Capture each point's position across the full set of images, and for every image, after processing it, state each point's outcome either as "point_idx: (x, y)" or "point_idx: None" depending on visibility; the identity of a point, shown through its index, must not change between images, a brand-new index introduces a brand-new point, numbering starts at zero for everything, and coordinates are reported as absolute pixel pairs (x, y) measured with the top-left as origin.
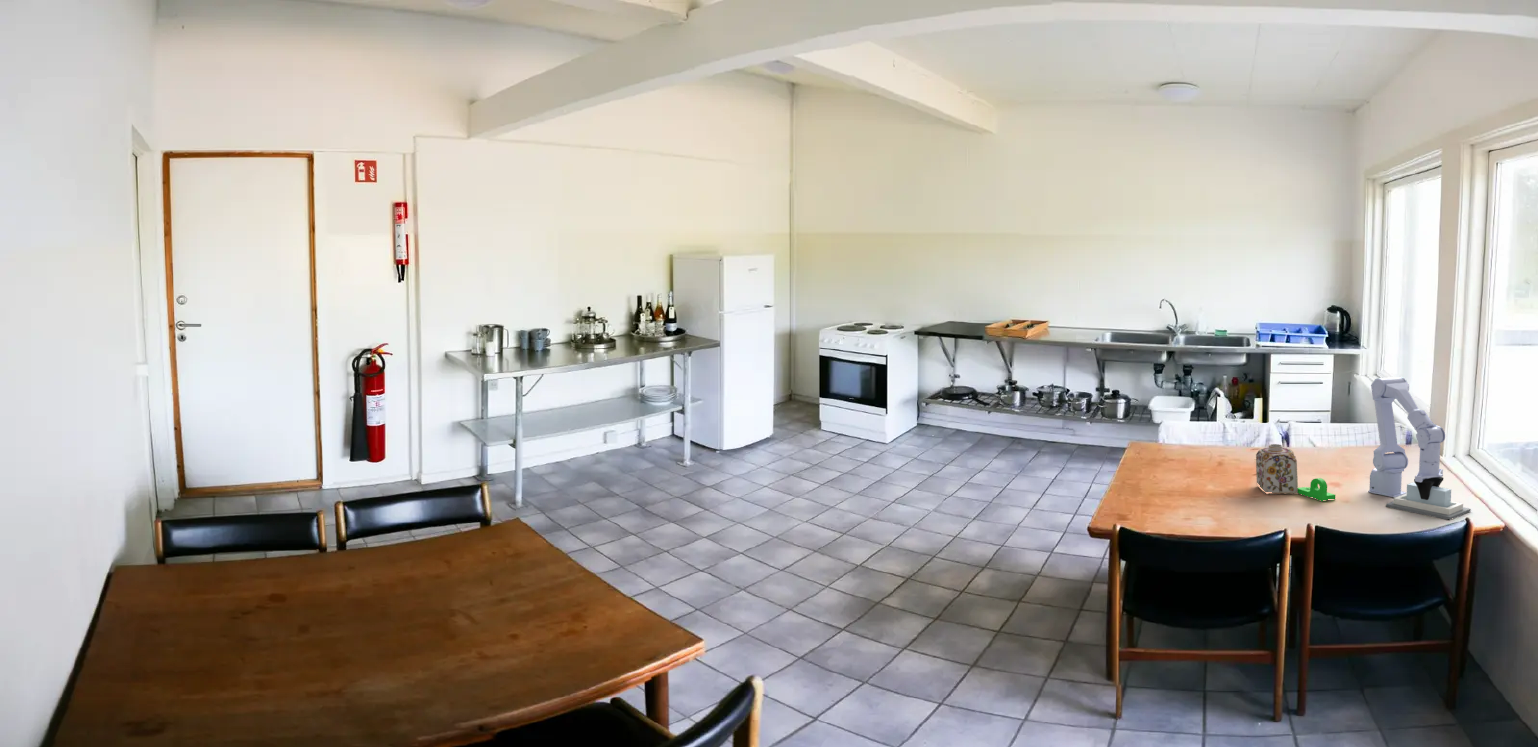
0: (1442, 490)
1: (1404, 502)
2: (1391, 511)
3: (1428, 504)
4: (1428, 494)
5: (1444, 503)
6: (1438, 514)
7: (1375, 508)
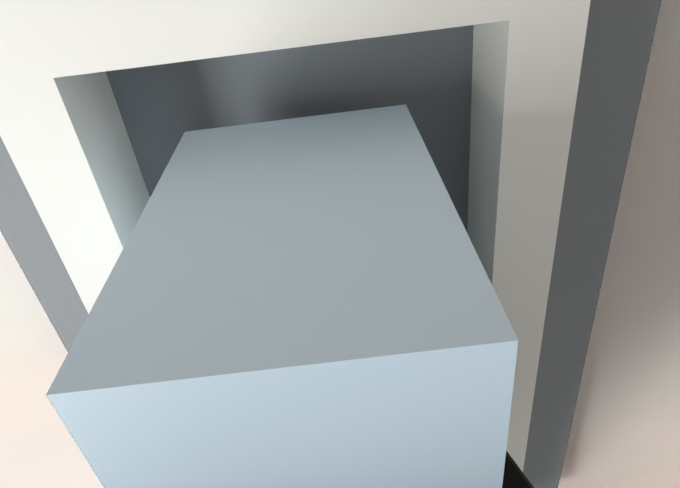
0: (445, 435)
1: None
2: (670, 402)
3: (516, 295)
4: (510, 459)
5: (419, 147)
6: (633, 39)
7: (652, 485)
